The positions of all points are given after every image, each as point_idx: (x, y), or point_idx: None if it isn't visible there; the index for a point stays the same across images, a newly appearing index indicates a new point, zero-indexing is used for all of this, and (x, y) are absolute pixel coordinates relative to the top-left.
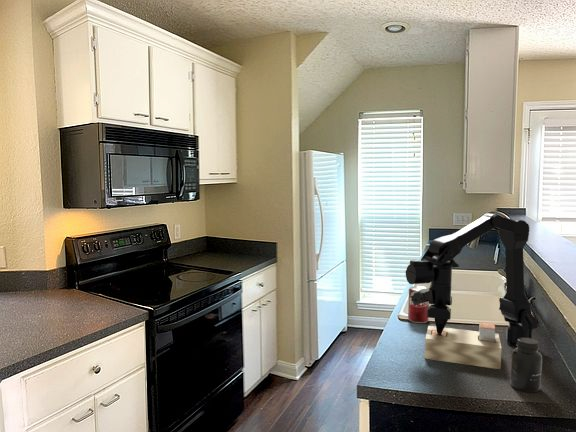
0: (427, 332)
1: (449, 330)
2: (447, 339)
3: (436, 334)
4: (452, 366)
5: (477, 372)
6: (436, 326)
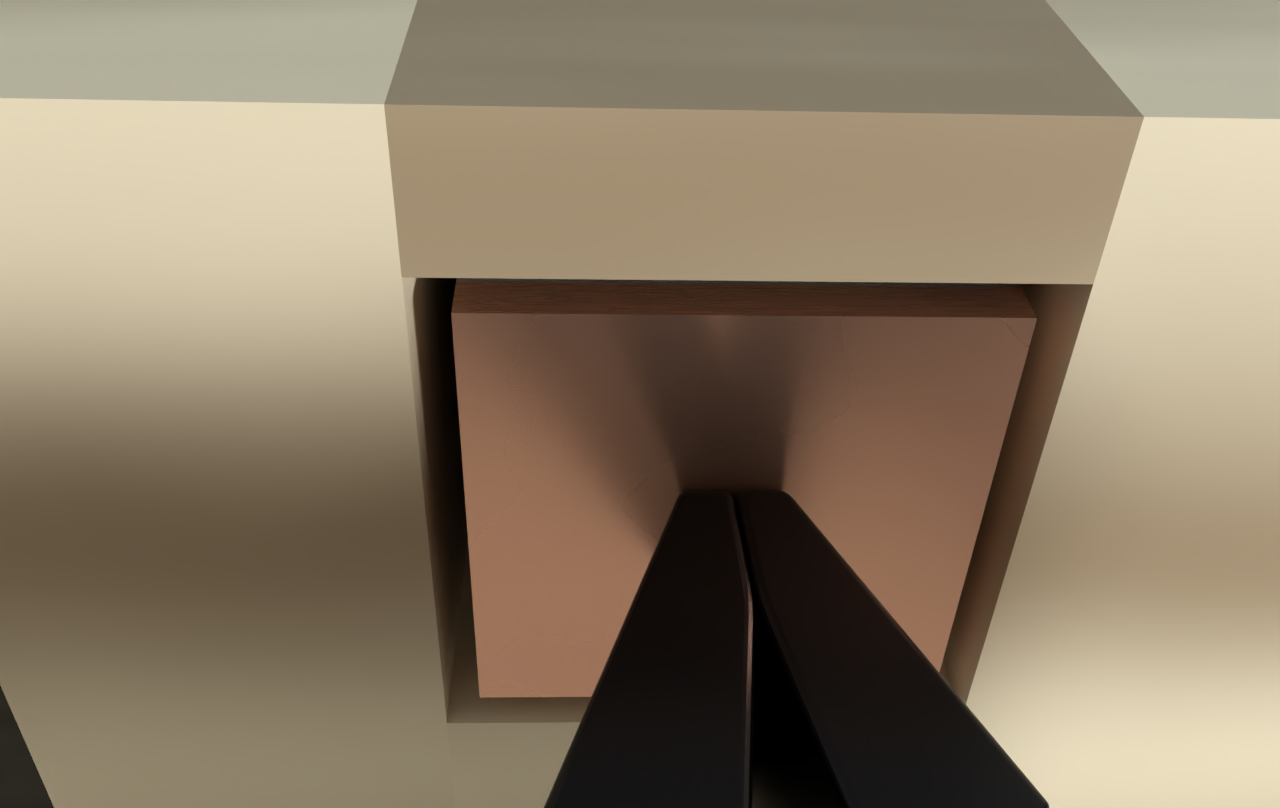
0: (674, 137)
1: (1102, 752)
2: (189, 739)
3: (559, 461)
4: None
5: (21, 742)
6: (586, 712)
